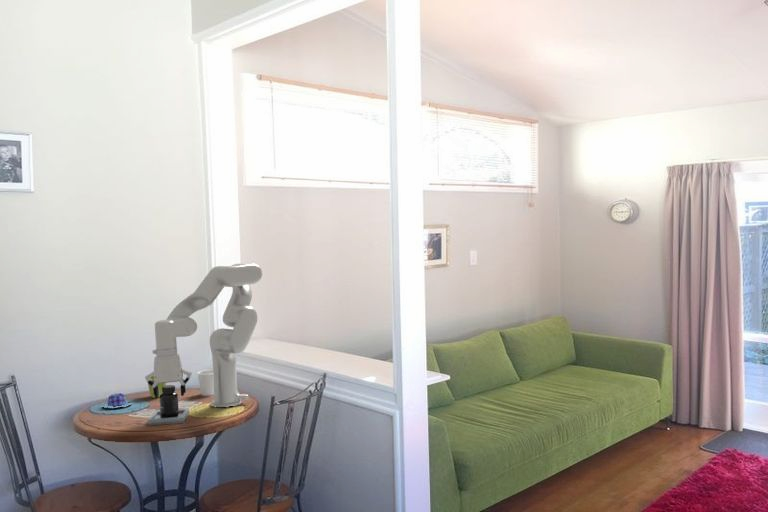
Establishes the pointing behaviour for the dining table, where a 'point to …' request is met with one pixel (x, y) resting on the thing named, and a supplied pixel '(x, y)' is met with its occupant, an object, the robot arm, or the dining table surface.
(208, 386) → the dixie cup
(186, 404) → the dining table surface
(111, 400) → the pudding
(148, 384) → the plant pot
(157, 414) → the tray
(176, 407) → the supplement bottle
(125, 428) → the dining table surface
